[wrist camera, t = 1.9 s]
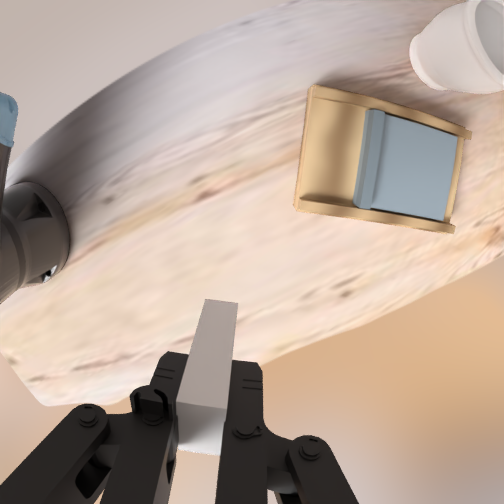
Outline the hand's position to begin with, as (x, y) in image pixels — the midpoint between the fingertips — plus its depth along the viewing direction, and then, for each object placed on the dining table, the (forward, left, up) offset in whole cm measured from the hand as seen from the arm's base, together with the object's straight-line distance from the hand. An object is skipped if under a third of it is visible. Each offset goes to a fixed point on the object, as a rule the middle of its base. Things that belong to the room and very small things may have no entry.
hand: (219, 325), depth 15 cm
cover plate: (+18, +9, -21) cm, 29 cm away
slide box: (+16, +9, -24) cm, 30 cm away
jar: (+23, +24, -24) cm, 41 cm away
